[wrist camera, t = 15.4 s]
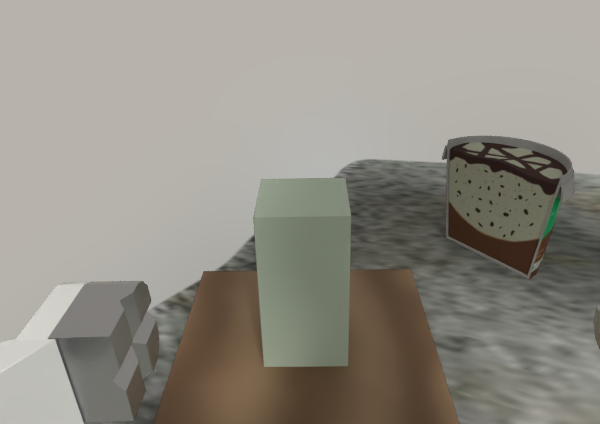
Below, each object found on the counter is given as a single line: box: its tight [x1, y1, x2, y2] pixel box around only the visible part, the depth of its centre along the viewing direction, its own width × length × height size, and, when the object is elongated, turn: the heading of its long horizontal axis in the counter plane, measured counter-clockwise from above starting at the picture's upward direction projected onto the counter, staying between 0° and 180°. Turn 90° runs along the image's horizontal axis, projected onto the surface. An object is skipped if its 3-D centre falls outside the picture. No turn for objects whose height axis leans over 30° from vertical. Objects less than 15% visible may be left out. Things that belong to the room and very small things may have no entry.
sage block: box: [253, 178, 351, 367], centre depth 32 cm, size 5×5×10 cm
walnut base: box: [154, 269, 459, 424], centre depth 35 cm, size 16×16×4 cm
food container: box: [442, 136, 574, 279], centre depth 49 cm, size 12×6×10 cm, turn 35°
